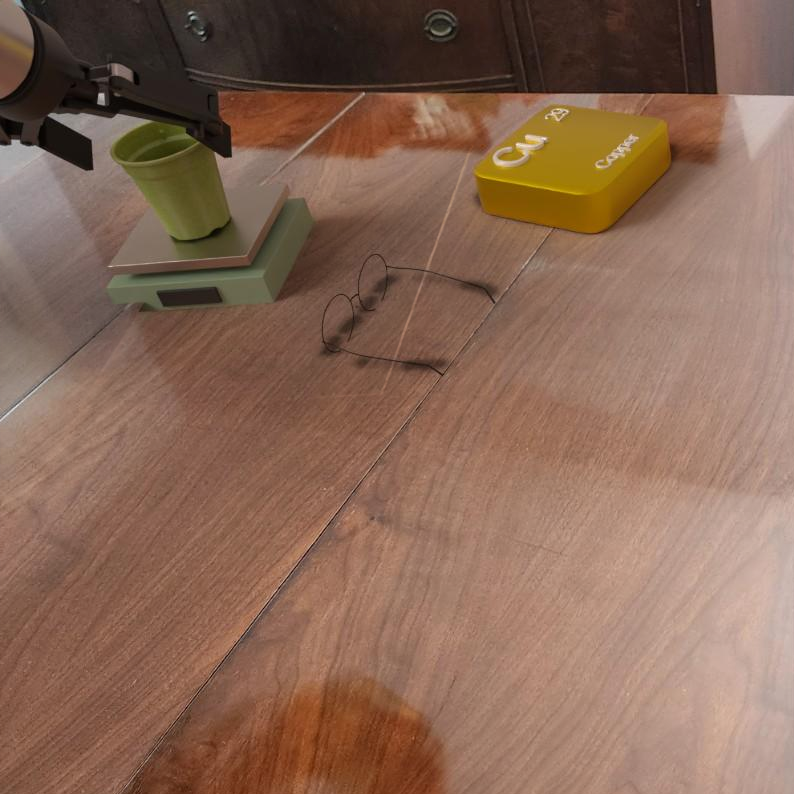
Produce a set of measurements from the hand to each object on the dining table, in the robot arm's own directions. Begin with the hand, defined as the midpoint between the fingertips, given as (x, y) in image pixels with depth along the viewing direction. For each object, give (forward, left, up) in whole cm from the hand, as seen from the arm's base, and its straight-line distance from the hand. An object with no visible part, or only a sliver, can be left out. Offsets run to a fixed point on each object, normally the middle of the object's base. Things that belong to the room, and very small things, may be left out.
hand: (157, 149), depth 101 cm
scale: (0, +1, -13) cm, 13 cm away
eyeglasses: (+23, -12, -13) cm, 29 cm away
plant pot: (0, +1, -8) cm, 8 cm away
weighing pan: (0, +1, -9) cm, 9 cm away
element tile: (+35, +11, -13) cm, 39 cm away
